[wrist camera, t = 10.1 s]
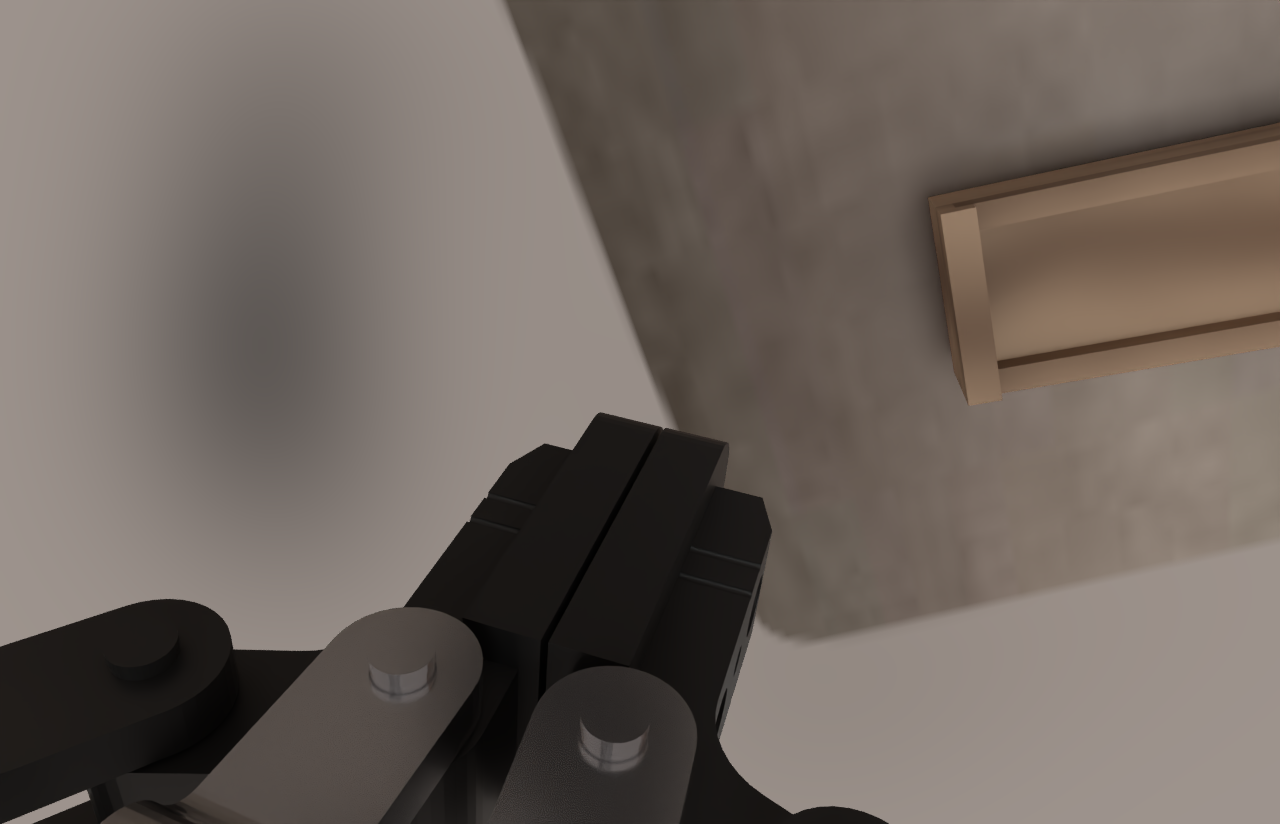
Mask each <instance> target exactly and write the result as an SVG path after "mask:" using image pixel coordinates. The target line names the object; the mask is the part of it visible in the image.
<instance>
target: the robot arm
mask: <svg viewBox="0 0 1280 824" xmlns="http://www.w3.org/2000/svg"><path fill="white" fill-rule="evenodd" d="M728 455H729V444H728V443H726V442H722V441H718V440H714V439H710V438H706V437H702V436H697V435H693V434H689V433H685V432H681V431H677V430H673V429H668V428H665V429H664V430H663V429H662V427H659V426H655V425H651V424H647V423H643V422H638V421H634V420H630V419H626V418H622V417H618V416H614V415H609V414H605V413H598V414H597V415H596V416H595V417H594V419H593V420H592V422H591V423H590V425H589V426H588V428H587V429H586V431H585V432H584V434H583V435H582V437H581V438H580V440H579V441H578V443H577V445H576V446H575V447H574V449H573V450H569V449H565V448H561V447H557V446H553V445H549V444H543V445H542V446H540V447H538V448H536V449H535V450H533V451H531V452H529V453H528V454H526V455H524V456H523V457H521V458H519V459H518V460H515V461H514V462H512V463H510V464H509V465H508V467H507V468H506V469H505V471H504V472H503V473H502V475H501V476H500V477H499V479H498V480H497V482H496V483H495V484H494V486H493V487H492V488H491V490H490V491H489V494H488V497H487V498H484V499H483V501H482V502H481V503H480V505H479V506H478V507H477V509H476V510H475V511H474V513H473V514H472V515H471V520H470V522H466V524H465V525H464V526H463V528H462V529H461V530H460V532H459V533H458V534H457V536H456V537H455V538H454V540H453V541H452V542H451V544H450V545H449V547H448V548H447V549H446V551H445V552H444V553H443V555H442V556H441V557H440V559H439V560H438V561H437V563H436V564H435V565H434V567H433V568H432V569H431V571H430V572H429V574H428V575H427V576H426V578H425V579H424V580H423V582H422V583H421V584H420V586H419V587H418V589H417V590H416V591H415V592H414V594H413V595H412V597H411V598H410V599H409V601H408V602H407V603H406V605H405V606H404V607H403V608H394V609H389V610H384V611H379V612H377V613H374V614H371V615H368V616H365V617H363V618H361V619H360V620H357V621H355V622H354V623H352V624H351V625H349V626H348V627H346V628H345V629H344V630H342V631H341V632H340V633H339V634H338V635H337V636H336V637H335V638H334V639H333V640H332V641H331V642H330V643H329V644H328V646H327V647H326V648H325V649H324V650H317V651H273V650H233V645H232V639H231V635H230V632H229V628H228V626H227V624H226V623H225V621H224V620H223V618H221V617H220V616H219V615H218V614H217V613H216V612H215V611H213V610H211V609H209V608H208V607H206V606H203V605H201V604H198V603H195V602H190V601H185V600H176V599H160V600H150V601H145V602H139V603H135V604H131V605H128V606H125V607H121V608H118V609H115V610H112V611H109V612H106V613H103V614H100V615H97V616H93V617H90V618H87V619H84V620H81V621H78V622H75V623H72V624H69V625H66V626H63V627H60V628H57V629H54V630H51V631H48V632H44V633H41V634H38V635H35V636H32V637H29V638H26V639H22V640H20V641H16V642H13V643H10V644H7V645H4V646H1V647H0V824H2V823H5V822H7V821H10V820H12V819H15V818H17V817H20V816H22V815H24V814H27V813H30V812H32V811H35V810H37V809H39V808H42V807H44V806H47V805H49V804H52V803H54V802H57V801H59V800H62V799H64V798H67V797H69V796H72V795H74V794H77V793H79V792H82V791H84V790H87V791H88V794H89V797H90V800H89V801H87V802H85V803H82V804H80V805H77V806H75V807H72V808H70V809H68V810H65V811H63V812H60V813H58V814H55V815H53V816H50V817H48V818H45V819H43V820H40V821H38V822H36V823H33V824H888V823H887V822H885V821H883V820H882V819H880V818H877V817H875V816H873V815H870V814H868V813H865V812H862V811H858V810H855V809H850V808H844V807H835V806H830V807H816V808H811V809H806V810H803V811H801V812H799V813H796V814H791V813H790V812H788V811H787V810H785V809H784V808H782V807H781V806H779V805H778V804H776V803H774V802H773V801H771V800H770V799H769V798H767V797H765V796H764V795H763V794H761V793H760V792H759V791H757V790H756V789H755V788H753V787H752V786H750V785H749V784H748V783H747V782H746V781H745V780H744V779H743V778H742V777H741V776H740V775H739V774H738V772H737V771H736V770H735V769H734V767H733V766H732V765H731V763H730V762H729V760H728V759H727V757H726V755H725V753H724V751H723V750H722V747H721V744H720V742H719V739H720V735H721V732H722V729H723V726H724V722H725V719H726V716H727V713H728V709H729V706H730V702H731V698H732V696H733V692H734V690H735V686H736V683H737V680H738V676H739V673H740V669H741V666H742V663H743V660H744V657H745V653H746V650H747V647H748V643H749V640H750V637H751V633H752V629H753V624H754V619H755V614H756V609H757V604H758V599H759V594H760V589H761V584H762V579H763V574H764V569H765V564H766V559H767V554H768V549H769V544H770V539H771V534H772V529H771V526H770V522H769V519H768V516H767V512H766V509H765V505H764V502H763V498H761V497H757V496H753V495H749V494H745V493H741V492H737V491H733V490H729V489H725V488H723V487H724V481H725V475H726V469H727V463H728Z"/></svg>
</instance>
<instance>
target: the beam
mask: <svg viewBox="0 0 1280 824" xmlns="http://www.w3.org/2000/svg"><path fill="white" fill-rule="evenodd" d="M928 201H929V208H930V215H931V221H932V228H933V235H934V241H935V248H936V255H937V261H938V268H939V275H940V281H941V288H942V295H943V301H944V308H945V314H946V321H947V328H948V334H949V341H950V348H951V354H952V361H953V368H954V373H955V375H956V377H957V380H958V382H959V384H960V387H961V389H962V391H963V394H964V396H965V398H966V401H967V403H968V405H969V406H970V405H976V404H982V403H988V402H994V401H1000V400H1002V393H1006V392H1012V391H1018V390H1024V389H1030V388H1036V387H1042V386H1048V385H1054V384H1060V383H1066V382H1072V381H1078V380H1084V379H1090V378H1096V377H1102V376H1107V375H1113V374H1119V373H1125V372H1131V371H1137V370H1143V369H1149V368H1155V367H1161V366H1167V365H1173V364H1179V363H1185V362H1191V361H1197V360H1203V359H1209V358H1214V357H1220V356H1226V355H1232V354H1238V353H1244V352H1250V351H1256V350H1262V349H1268V348H1274V347H1280V123H1276V124H1271V125H1266V126H1262V127H1257V128H1252V129H1248V130H1243V131H1238V132H1233V133H1229V134H1224V135H1219V136H1215V137H1210V138H1205V139H1200V140H1196V141H1191V142H1186V143H1182V144H1177V145H1172V146H1167V147H1163V148H1158V149H1153V150H1149V151H1144V152H1139V153H1135V154H1130V155H1125V156H1120V157H1116V158H1111V159H1106V160H1102V161H1097V162H1092V163H1087V164H1083V165H1078V166H1073V167H1069V168H1064V169H1059V170H1054V171H1050V172H1045V173H1040V174H1036V175H1031V176H1026V177H1021V178H1017V179H1012V180H1007V181H1003V182H998V183H993V184H989V185H984V186H979V187H974V188H970V189H965V190H960V191H956V192H951V193H946V194H941V195H937V196H932V197H928Z"/></svg>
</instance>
